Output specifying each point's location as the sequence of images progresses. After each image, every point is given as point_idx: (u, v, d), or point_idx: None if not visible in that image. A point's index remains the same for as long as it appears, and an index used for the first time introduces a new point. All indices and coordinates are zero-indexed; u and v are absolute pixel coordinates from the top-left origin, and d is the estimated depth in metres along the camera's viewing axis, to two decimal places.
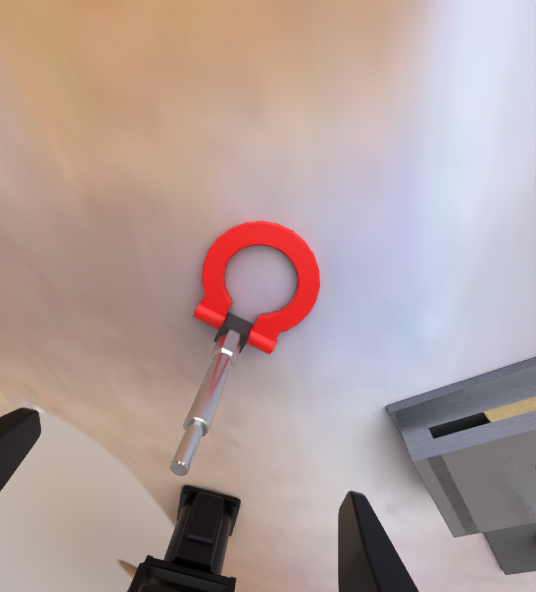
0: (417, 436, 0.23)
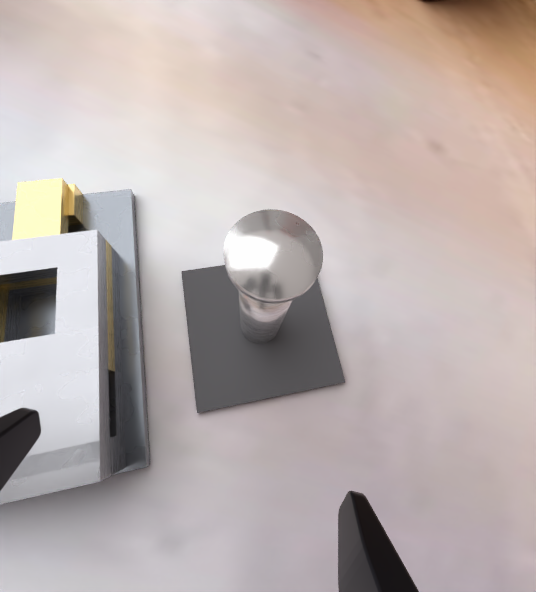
0: None
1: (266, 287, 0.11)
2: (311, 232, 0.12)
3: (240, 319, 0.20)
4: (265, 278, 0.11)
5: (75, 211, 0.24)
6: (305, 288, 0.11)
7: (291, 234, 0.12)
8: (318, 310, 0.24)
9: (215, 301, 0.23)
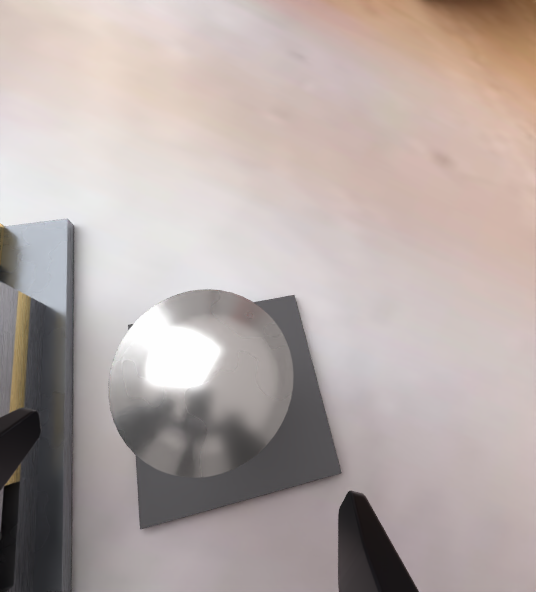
0: None
1: (185, 452, 0.06)
2: (273, 331, 0.07)
3: None
4: (184, 431, 0.06)
5: None
6: (259, 448, 0.06)
7: (237, 335, 0.07)
8: (305, 372, 0.19)
9: None
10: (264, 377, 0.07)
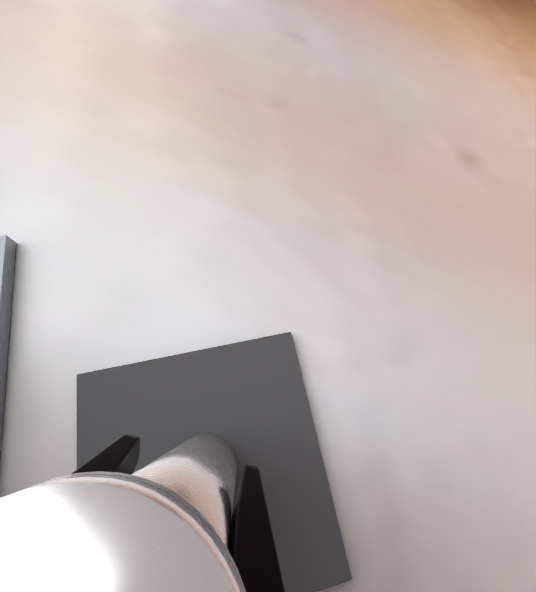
0: None
1: None
2: None
3: None
4: None
5: None
6: None
7: None
8: (304, 436, 0.14)
9: (130, 428, 0.14)
10: None
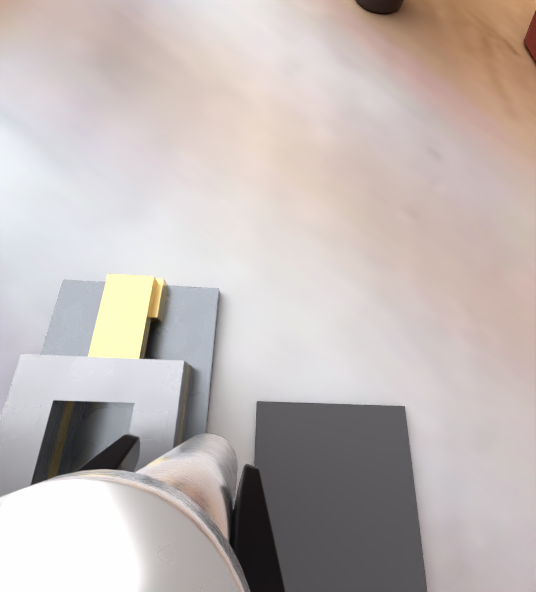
0: None
1: None
2: None
3: None
4: None
5: (158, 312, 0.21)
6: None
7: None
8: (405, 487, 0.20)
9: (289, 448, 0.20)
10: None
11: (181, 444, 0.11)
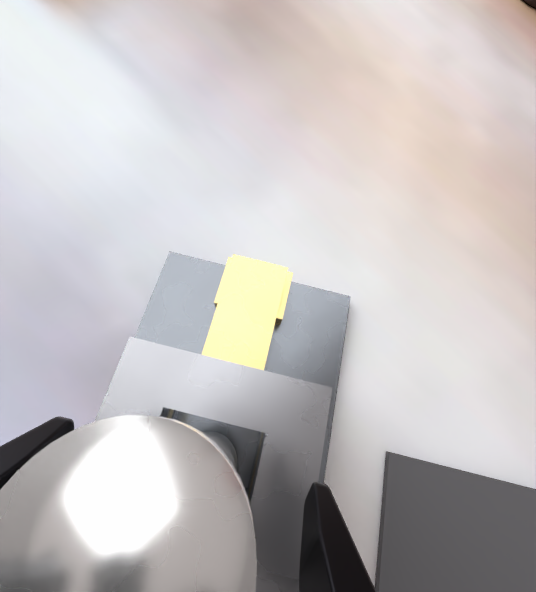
0: None
1: None
2: (228, 486, 0.04)
3: None
4: None
5: (283, 312, 0.17)
6: None
7: (170, 497, 0.04)
8: None
9: (429, 527, 0.15)
10: (209, 576, 0.04)
11: None
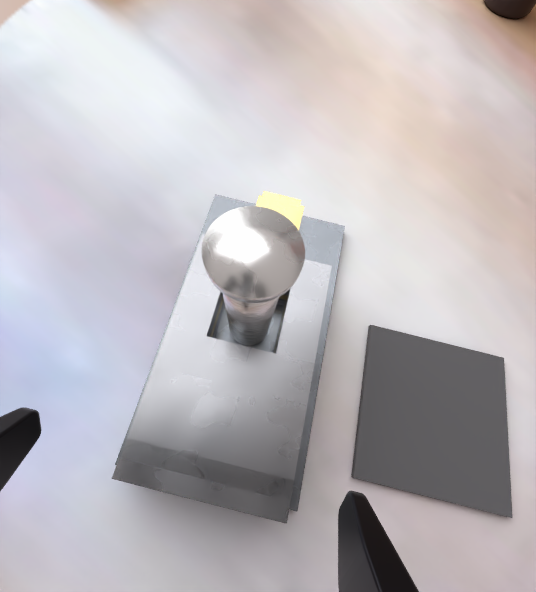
0: None
1: (246, 286, 0.11)
2: (293, 229, 0.12)
3: (228, 321, 0.20)
4: (245, 276, 0.11)
5: None
6: (286, 286, 0.11)
7: (272, 230, 0.12)
8: (499, 424, 0.22)
9: (396, 368, 0.23)
10: (288, 252, 0.11)
11: None
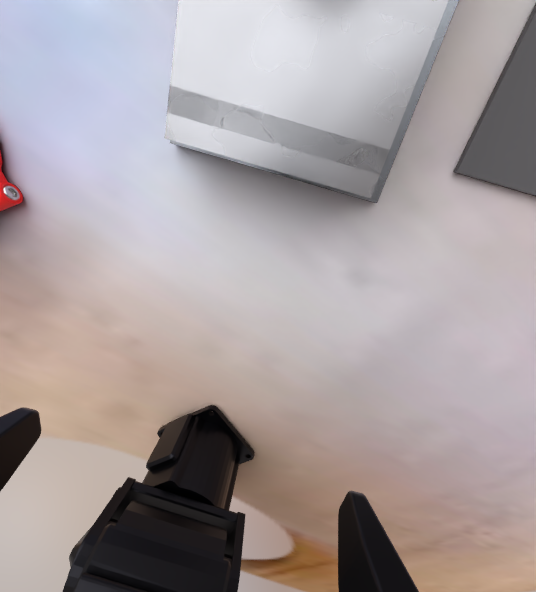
0: None
1: None
2: None
3: None
4: None
5: None
6: None
7: None
8: None
9: None
10: None
11: None
